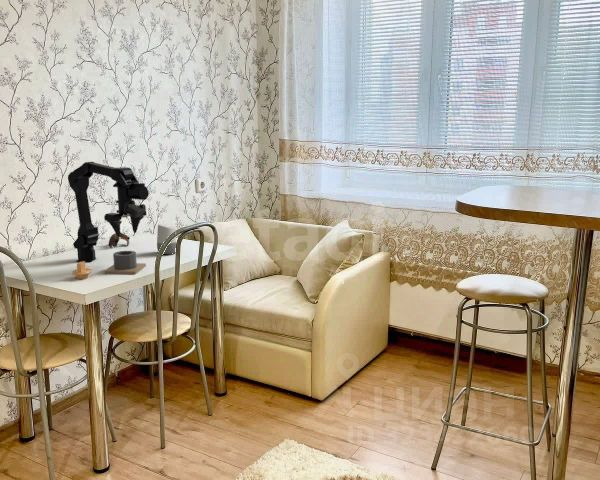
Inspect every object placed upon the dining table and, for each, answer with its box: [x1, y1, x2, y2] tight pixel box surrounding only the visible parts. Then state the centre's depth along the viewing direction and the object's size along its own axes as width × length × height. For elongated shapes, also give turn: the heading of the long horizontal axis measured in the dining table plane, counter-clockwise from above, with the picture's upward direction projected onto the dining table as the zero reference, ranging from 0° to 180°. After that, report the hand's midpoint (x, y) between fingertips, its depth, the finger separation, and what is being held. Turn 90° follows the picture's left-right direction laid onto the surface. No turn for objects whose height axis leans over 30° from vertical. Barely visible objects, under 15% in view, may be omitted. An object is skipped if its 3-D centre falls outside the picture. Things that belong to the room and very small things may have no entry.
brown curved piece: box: [107, 232, 131, 249], centre depth 291 cm, size 12×10×8 cm
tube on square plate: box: [103, 250, 147, 275], centre depth 248 cm, size 13×13×7 cm
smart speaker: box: [156, 223, 178, 255], centre depth 276 cm, size 10×9×14 cm
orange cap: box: [71, 261, 92, 280], centre depth 237 cm, size 7×7×6 cm
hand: (127, 234), depth 252 cm, fingers open, 9 cm apart
